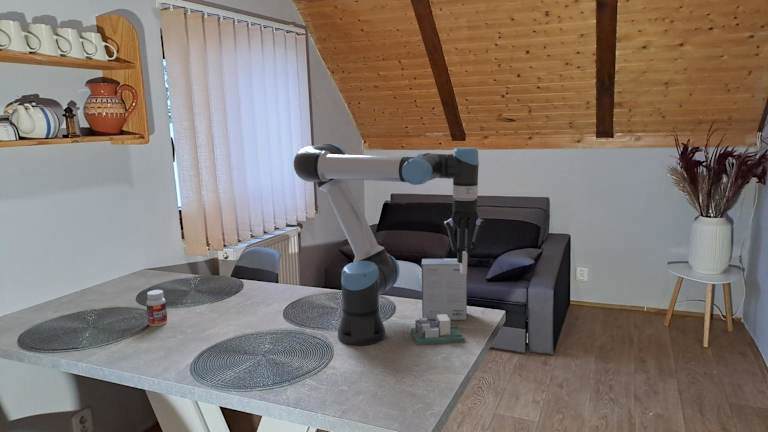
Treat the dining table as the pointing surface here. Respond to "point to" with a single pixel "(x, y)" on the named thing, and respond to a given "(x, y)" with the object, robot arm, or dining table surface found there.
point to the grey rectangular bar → (435, 323)
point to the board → (438, 339)
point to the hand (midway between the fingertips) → (463, 272)
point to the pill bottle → (156, 308)
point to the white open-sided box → (444, 324)
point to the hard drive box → (443, 289)
